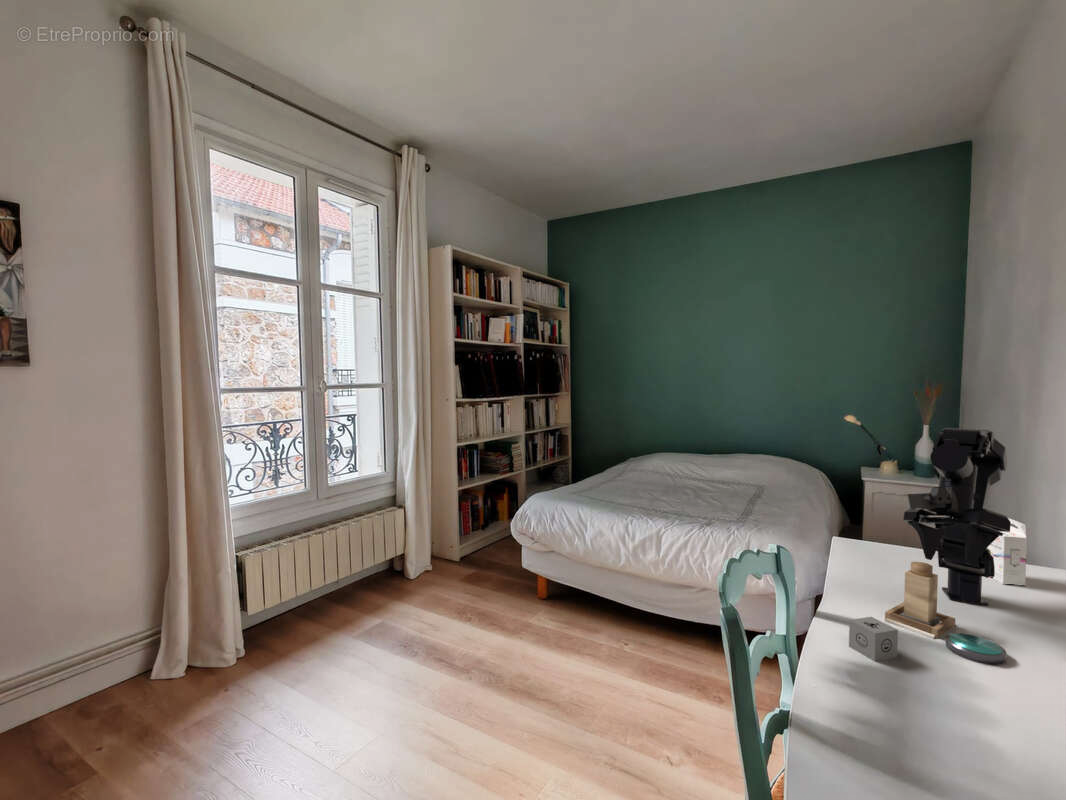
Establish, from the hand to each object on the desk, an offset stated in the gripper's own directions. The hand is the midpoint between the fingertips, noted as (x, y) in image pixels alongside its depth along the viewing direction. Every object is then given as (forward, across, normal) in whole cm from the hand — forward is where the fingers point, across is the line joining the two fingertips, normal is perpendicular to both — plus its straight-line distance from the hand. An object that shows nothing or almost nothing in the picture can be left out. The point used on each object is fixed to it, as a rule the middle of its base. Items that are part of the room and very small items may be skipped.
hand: (947, 561), depth 99 cm
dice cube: (+21, +6, -17) cm, 28 cm away
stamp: (+13, -3, -2) cm, 13 cm away
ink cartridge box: (-4, -23, +34) cm, 41 cm away
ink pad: (+15, +8, 0) cm, 17 cm away
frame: (+13, -3, -2) cm, 13 cm away
